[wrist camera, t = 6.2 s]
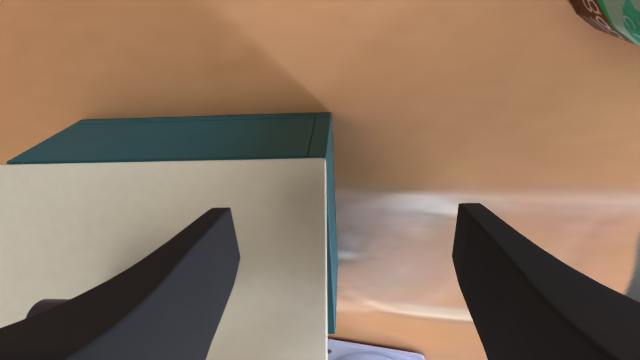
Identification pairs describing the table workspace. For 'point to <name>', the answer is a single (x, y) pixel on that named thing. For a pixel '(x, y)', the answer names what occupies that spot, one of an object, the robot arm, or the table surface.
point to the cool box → (203, 151)
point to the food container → (612, 17)
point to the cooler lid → (162, 225)
